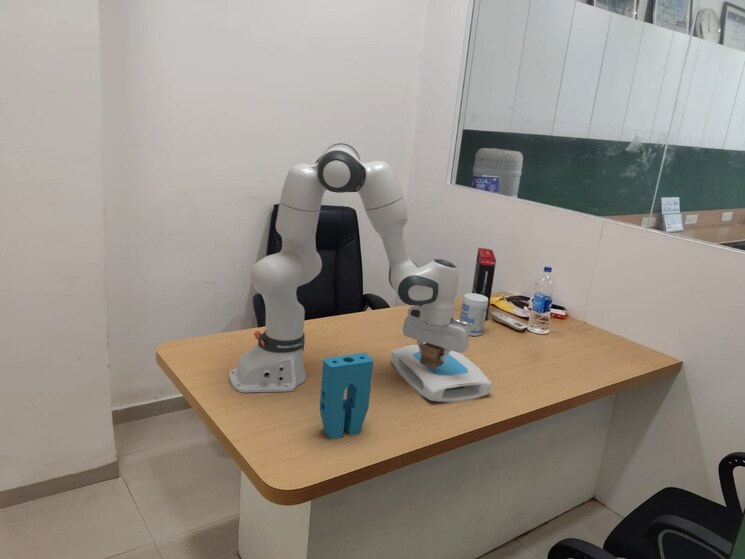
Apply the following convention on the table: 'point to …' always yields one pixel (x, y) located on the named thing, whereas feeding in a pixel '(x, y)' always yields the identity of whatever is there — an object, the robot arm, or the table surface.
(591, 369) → the table surface
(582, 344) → the table surface
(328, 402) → the block
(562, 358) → the table surface
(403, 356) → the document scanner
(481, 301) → the supplement tub
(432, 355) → the walnut block
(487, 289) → the graphics card box
